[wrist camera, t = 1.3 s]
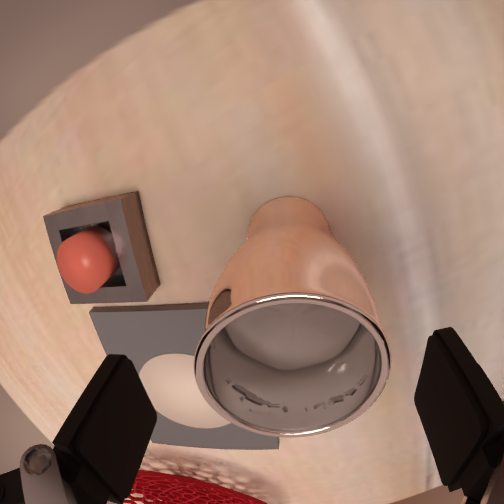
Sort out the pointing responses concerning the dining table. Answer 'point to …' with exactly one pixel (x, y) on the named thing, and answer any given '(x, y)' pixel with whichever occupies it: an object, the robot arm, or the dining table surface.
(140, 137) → the dining table surface
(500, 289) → the dining table surface
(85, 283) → the button
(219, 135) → the dining table surface
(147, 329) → the grey rectangular board
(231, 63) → the dining table surface
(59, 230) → the button housing
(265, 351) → the beer glass
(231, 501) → the bowl
